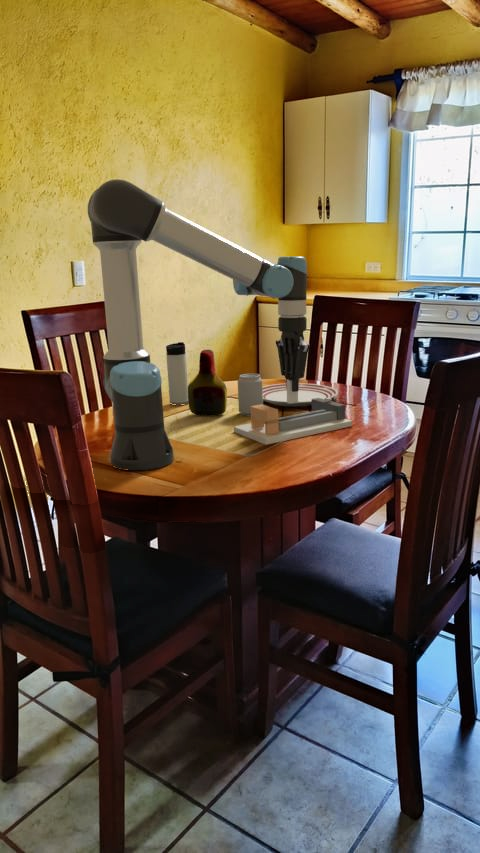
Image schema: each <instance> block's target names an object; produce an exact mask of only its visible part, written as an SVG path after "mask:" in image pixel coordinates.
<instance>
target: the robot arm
mask: <svg viewBox="0 0 480 853" xmlns="http://www.w3.org/2000/svg"><path fill="white" fill-rule="evenodd" d="M87 215H88V219H89V222H90V226H91V235H92V244H93V245H94V247H96V248H97V249H98V251H99V254H100V256H99V257H100V266H101V276H102V277H101V278H102V289H103V290H102V291H103V299H104V310H105V321H106V322H105V323H106V332H107V333H106V334H107V344H108V346H107V347H108V349H107V351H106V352H105V353H104V355H103V358H102V359H103V367H104V375H103V387H104V388H103V389H104V391H105V393H106V395H107V397H108V398H109V399H110V400H111V402H112V403H111V404H112V409H113V410H112V411H113V421H114V438H113V443H112V446H111V451H110V454H109V455H110V456H109V458H110V465H111V464H112V465H113V466H115V467H117V468H121V469H128V470H143V471H150V470H149V469H151V470H155V468H156V469H159V468H163V467H166V466H168V465H170V464H171V463H173V462H174V461H175V457H174V456H175V455H174V449H173V446H172V443H171V442H170V438H169V436H168V434H167V431H166V430H165V428H166V427H165V421H164V419H165V418H164V405H163V393H162V392H163V391H162V389H163V388H162V383H163V382H162V376H161V371H160V369H159V367H158V366H157V365H156V364H154V363H152V362H151V355H150V354H151V353H150V352H149V351H147V350H146V349H145V347H144V341H143V329H142V328H143V326H142V314H141V312H142V311H141V300H140V299H141V297H140V286H139V285H140V284H139V275H138V274H139V273H138V261H137V260H138V258H137V249H138V247H139V246H140V245H141V244H142V241H143V242H145V243H146V242H150V241H154V242H155V243H157V244H159V245H161V246H164V247H166V248H167V249H170V250H172V251H174V252H176V253H178V254H180V255H183V256H185V257H187V258H189V259H191V260H193V261H195V262H196V263H199V264H201V265H203V266H205V267H207V268H209V269H211V270H214V272H217V273H219V274H222V275H223V276H224V277H227V278H230V279H231V280H232V284H233V290H234V292H235V294H237V295H238V296H247V297H248V296H262V297H267V298H271V299H277V300H278V301H277V315H279V317H278V319H277V320H278V322H277V325H278V328H277V329H278V331H279V332H281V336H280V339H277V340H275V345H276V348H277V354H278V361H279V369H280V374H281V376H284V378H285V380H286V381H285V382H286V389H287V403H289V404H292V403H298V390H299V388H298V387H299V383H300V382H299V381H300V379H304V378H305V374H306V373H305V372H306V365H307V359H308V353H309V351H310V348H311V345H310V343H306V342H305V337H304V332H305V331H306V330H307V320H308V319H307V317H306V314H307V289H308V288H307V287H308V286H307V285H308V283H307V281H308V277H307V276H308V269H307V268H308V267H307V258H305V257H304V256H295V255H294V256H280V257H278V258H277V263H276V264H275V263H273V262H271V261H268V260H267V259H265V258H262V257H261V256H259V255H257V254H255V253H254V252H252V251H249V250H248V249H245V248H243V247H242V246H240V245H238V244H235V243H234V242H232V241H230V240H228V239H226V238H224V237H222V236H221V235H218V234H216V233H215V232H212V231H211V230H209V229H207V228H205V227H203V226H201V225H199V224H197V223H195V222H193V221H191V220H189V219H187V218H186V217H184V216H182V215H179V214H177V213H176V212H175V211H174V212H173V211H172V210H170V209H169V208H167V207H166V205H165V201H163V200H161V199H159V198H157V197H156V196H154V195H152V194H150V193H149V192H148V191H146V190H143V189H141V188H140V186H139V187H138V186H137V185H135V184H134V183H132V182H130V181H127V180H124V179H119V178H118V179H117V178H116V179H109V180H108V181H106V182H103V183H102V184H101V185H100V186H99V187H98V188H96V189H95V190H94V191H93V192H92V194H91V196H90V198H89V201H88V203H87Z"/></svg>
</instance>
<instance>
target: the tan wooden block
mask: <svg viewBox="0 0 480 853" xmlns="http://www.w3.org/2000/svg"><path fill="white" fill-rule="evenodd" d="M278 418H279V409H278V408H274V407H271V406H268V405H265V404H263V405H262V404H261V405H255V406H251V416H250V423H251V429H253V430H254V429H259V428H264V424H265V434H267V435H269V434H274V433H279V428H278Z"/></svg>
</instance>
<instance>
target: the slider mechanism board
mask: <svg viewBox="0 0 480 853" xmlns="http://www.w3.org/2000/svg"><path fill="white" fill-rule="evenodd" d="M322 409H324V410H327V412H323V413H318V414H313V415H308V416H303V417H298V418H293V419H288V420H283V421H278V428H279V433H274V434H269V435H267V434H265V424H264V428H259V429H254V430H253V429H251V422H250V423H246V424H245V423H244V424H241V425H236V426H233V432H234V433H235V434H238V435H241V436H243V437H245V438H248V439H250V440H253V441H256V442H258V443H260V444H263V445H271V444H275V443H281V442H286V441H290V440H294V439H295V440H296V439H298V438H303V437H307V436H313V435H316V434H317V435H318V434H322V433H327V432H331V431H335V430H340V429H346V428H349V427H353V421H352V420H351V419H347V418H346V404H343V403H339V402H336V401H332V398H324V399H321V398H315V399H312V405H311V411H310V412H312V411H317V410H322ZM307 412H308V411H307ZM307 412H305V413H307ZM302 413H303V412H302ZM302 413H300V414H302Z"/></svg>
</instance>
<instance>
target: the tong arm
mask: <svg viewBox="0 0 480 853" xmlns="http://www.w3.org/2000/svg"><path fill="white" fill-rule="evenodd" d="M311 411H312V410H311ZM311 411H307V413H306V412H302V414H301V413H298V414H293V415H287V416H282V417H278V421H283V420H288V419H293V418H298V417H303V416H308V415H313V414H318V413H323V412H327V410H324V409H322V410H317V411H312V412H311Z"/></svg>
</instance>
